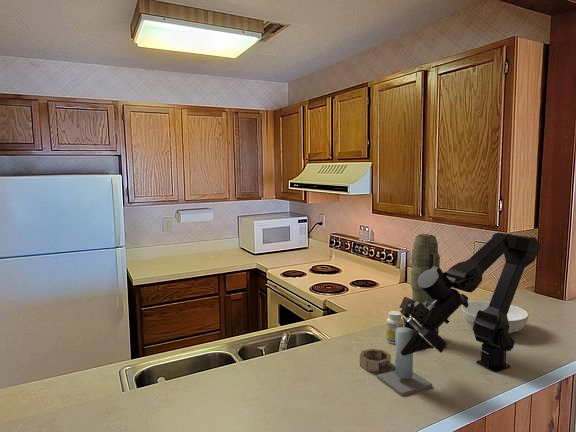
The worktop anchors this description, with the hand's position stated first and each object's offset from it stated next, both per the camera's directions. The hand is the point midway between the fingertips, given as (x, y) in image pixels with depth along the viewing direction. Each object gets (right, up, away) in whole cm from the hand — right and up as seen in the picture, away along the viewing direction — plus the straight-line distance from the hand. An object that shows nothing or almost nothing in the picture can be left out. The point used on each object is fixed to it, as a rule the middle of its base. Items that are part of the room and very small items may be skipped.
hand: (399, 350), depth 104 cm
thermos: (+16, -6, +28) cm, 33 cm away
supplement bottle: (+6, -6, +27) cm, 28 cm away
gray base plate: (+1, -9, +1) cm, 9 cm away
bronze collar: (-4, -8, +11) cm, 14 cm away
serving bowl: (+44, -5, +36) cm, 57 cm away
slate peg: (+1, -7, +1) cm, 7 cm away
